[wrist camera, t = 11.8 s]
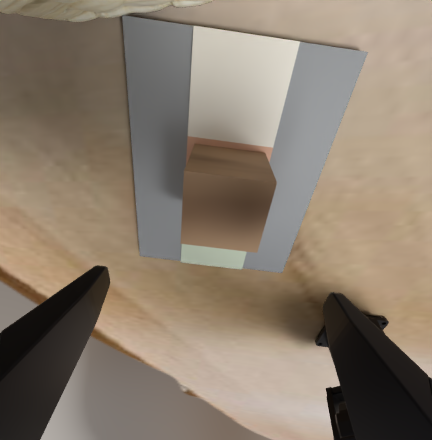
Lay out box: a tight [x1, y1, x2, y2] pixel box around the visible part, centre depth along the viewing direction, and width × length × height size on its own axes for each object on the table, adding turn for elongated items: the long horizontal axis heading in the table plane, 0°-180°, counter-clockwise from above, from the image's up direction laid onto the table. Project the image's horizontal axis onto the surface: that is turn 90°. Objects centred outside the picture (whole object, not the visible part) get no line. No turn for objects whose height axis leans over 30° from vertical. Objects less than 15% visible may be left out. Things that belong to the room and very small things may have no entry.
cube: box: [180, 144, 277, 253], centre depth 16 cm, size 5×5×5 cm
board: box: [122, 15, 368, 273], centre depth 19 cm, size 18×14×1 cm
